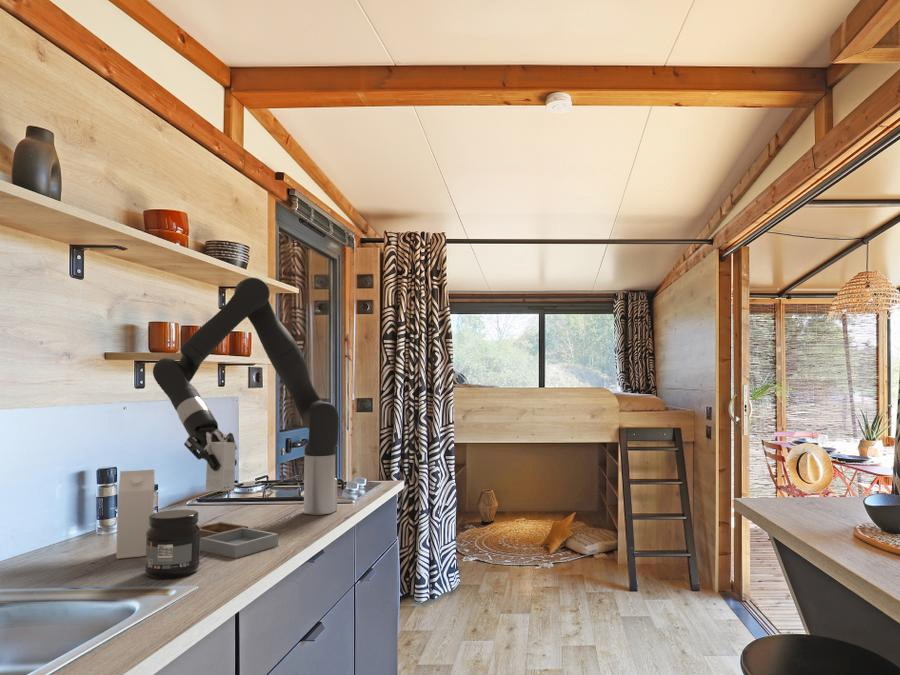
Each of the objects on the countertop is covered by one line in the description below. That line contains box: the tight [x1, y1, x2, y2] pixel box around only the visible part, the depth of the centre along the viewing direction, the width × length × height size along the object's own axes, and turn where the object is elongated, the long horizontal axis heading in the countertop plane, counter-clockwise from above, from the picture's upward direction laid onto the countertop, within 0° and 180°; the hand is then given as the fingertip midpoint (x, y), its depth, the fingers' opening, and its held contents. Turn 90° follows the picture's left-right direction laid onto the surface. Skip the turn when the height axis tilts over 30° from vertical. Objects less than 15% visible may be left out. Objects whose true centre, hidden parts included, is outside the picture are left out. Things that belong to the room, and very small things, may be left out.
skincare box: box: [205, 441, 237, 492], centre depth 161 cm, size 6×4×12 cm
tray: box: [200, 527, 279, 559], centre depth 150 cm, size 13×13×3 cm
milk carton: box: [115, 469, 155, 560], centre depth 146 cm, size 7×7×19 cm
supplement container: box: [144, 509, 201, 580], centre depth 131 cm, size 10×10×12 cm
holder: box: [199, 521, 249, 538], centre depth 160 cm, size 9×11×2 cm
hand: (225, 467), depth 160 cm, fingers closed on skincare box, 4 cm apart
